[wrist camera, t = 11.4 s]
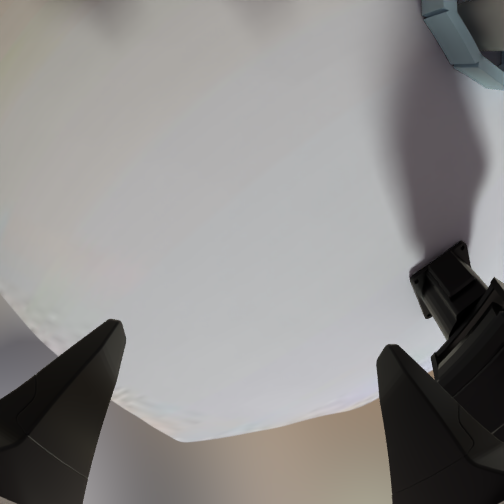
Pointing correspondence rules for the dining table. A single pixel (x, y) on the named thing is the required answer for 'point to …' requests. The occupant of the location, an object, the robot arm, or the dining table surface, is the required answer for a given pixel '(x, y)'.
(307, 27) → the dining table surface
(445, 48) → the collar
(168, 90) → the dining table surface
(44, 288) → the dining table surface
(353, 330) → the dining table surface
